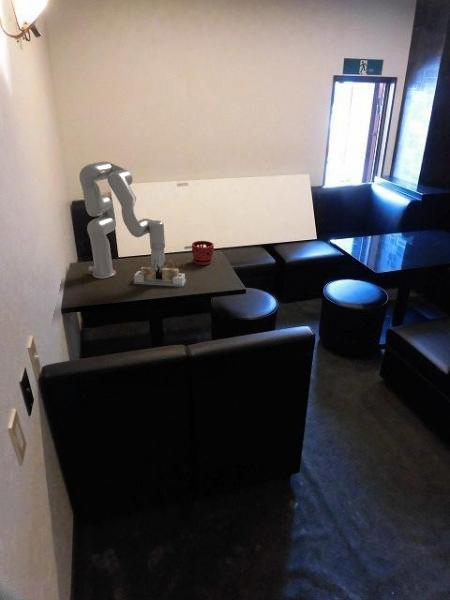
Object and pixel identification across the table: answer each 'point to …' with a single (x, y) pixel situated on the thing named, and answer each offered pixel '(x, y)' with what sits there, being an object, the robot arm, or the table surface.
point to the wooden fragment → (172, 265)
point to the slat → (166, 273)
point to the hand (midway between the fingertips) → (159, 277)
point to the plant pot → (202, 252)
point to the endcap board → (176, 280)
